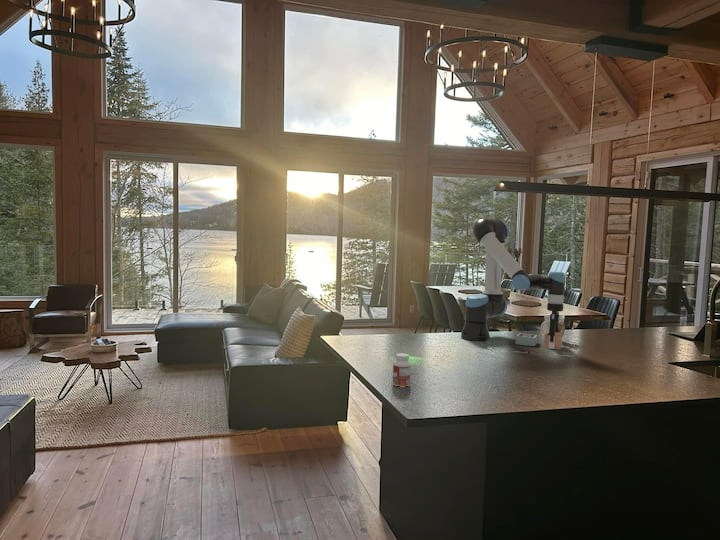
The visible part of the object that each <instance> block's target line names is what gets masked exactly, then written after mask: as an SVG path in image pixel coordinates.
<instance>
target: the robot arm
mask: <svg viewBox="0 0 720 540" xmlns="http://www.w3.org/2000/svg"><path fill="white" fill-rule="evenodd" d="M472 233H473V237H474V238H475V240H476V241H477V242H478V244H479V245H480V246H484V247H485V261H484V262H485V265H484V266H485V268H484V271H485V272H484V275H485V276H484V290H483V291H482V292H481V293H479V294H470V295H467V297H466V300H465V310H464V311H465V314H464V324H463V327H462V330H461V333H460V338H462V339H464V340H467V341H468V340H469V341H475V342H476V341H478V342H480V341H481V342H484V341H487V340H490V339H491V337H490V336H491V335H490V331H489V328H488V319H489V318H498V317H501V316H503V315H504V314H505V313H506V311H507V309H508V301H507V299H506V298H505V297H504V292H503V291H502V287H501V286H502V270H503V271H504V272H505V273H506V275H508V277H509V278H510V279H511V285H512V287H513V289H515V290H517V291H527V290H528V291H529V290H543V291H547V304H546V305H547V306H546V310H547V311H549V312H551V314H549V315H550V328H549V333H548V335H549V348H548V349H550V350H551V349H552V350H553V349H554V350H556V349H555V332H560V330H559V315H560V313H561V312H564V301H565V299H566V297H565V286H566V285H565V283H566V280H565V279H566V275H565V272H562V271H550V272H549V273H548V275H547V274H538V273H530V274H528V273H527V272H526V270H525V269H524V268H523V267H522V266H521V265H520V263H518V261H517V260H516V259H515V258H514V257H513V255H511V253H510V252H509V251H508V250H507V248H506V247H505V244H506V239H507V238H508V237H509V235H510V227H509V225H508V224H507V223H506V221H504V220H501V219H498V218H481V219H478V220H477V221H475V223H474V225H473V227H472Z"/></svg>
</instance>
